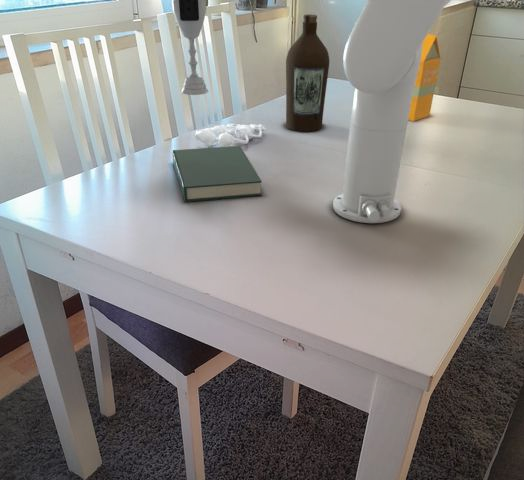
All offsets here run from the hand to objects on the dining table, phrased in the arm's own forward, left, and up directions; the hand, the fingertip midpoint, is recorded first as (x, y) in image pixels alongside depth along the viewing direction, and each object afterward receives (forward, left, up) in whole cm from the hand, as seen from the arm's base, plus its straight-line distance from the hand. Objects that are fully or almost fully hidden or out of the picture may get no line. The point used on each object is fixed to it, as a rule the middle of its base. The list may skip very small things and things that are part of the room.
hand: (189, 16), depth 94 cm
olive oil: (+35, -27, -29) cm, 53 cm away
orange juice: (+44, -58, -29) cm, 79 cm away
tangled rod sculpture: (+25, -7, -29) cm, 39 cm away
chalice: (0, 0, -12) cm, 12 cm away
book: (0, -3, -29) cm, 29 cm away
